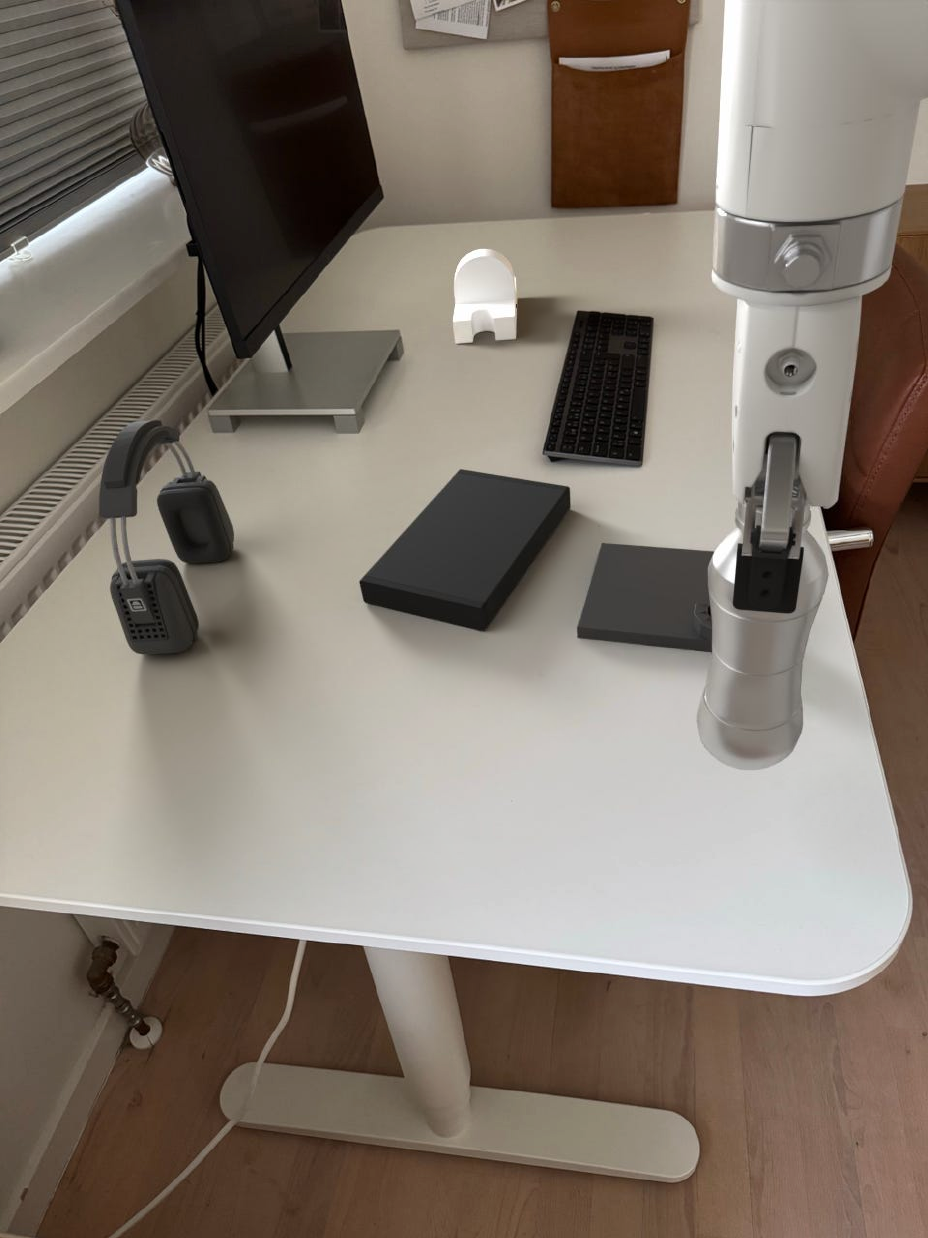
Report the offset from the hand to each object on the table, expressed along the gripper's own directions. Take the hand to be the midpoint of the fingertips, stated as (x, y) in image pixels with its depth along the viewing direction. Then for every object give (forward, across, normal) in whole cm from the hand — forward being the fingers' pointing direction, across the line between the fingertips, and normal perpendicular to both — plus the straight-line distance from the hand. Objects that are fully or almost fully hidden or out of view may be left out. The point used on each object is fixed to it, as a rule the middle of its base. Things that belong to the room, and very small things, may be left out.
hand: (766, 566), depth 50 cm
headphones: (+25, +21, +59) cm, 67 cm away
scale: (+26, +28, +8) cm, 39 cm away
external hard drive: (+26, +33, +30) cm, 51 cm away
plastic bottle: (+15, 0, 0) cm, 15 cm away
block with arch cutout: (+26, +98, +46) cm, 111 cm away
